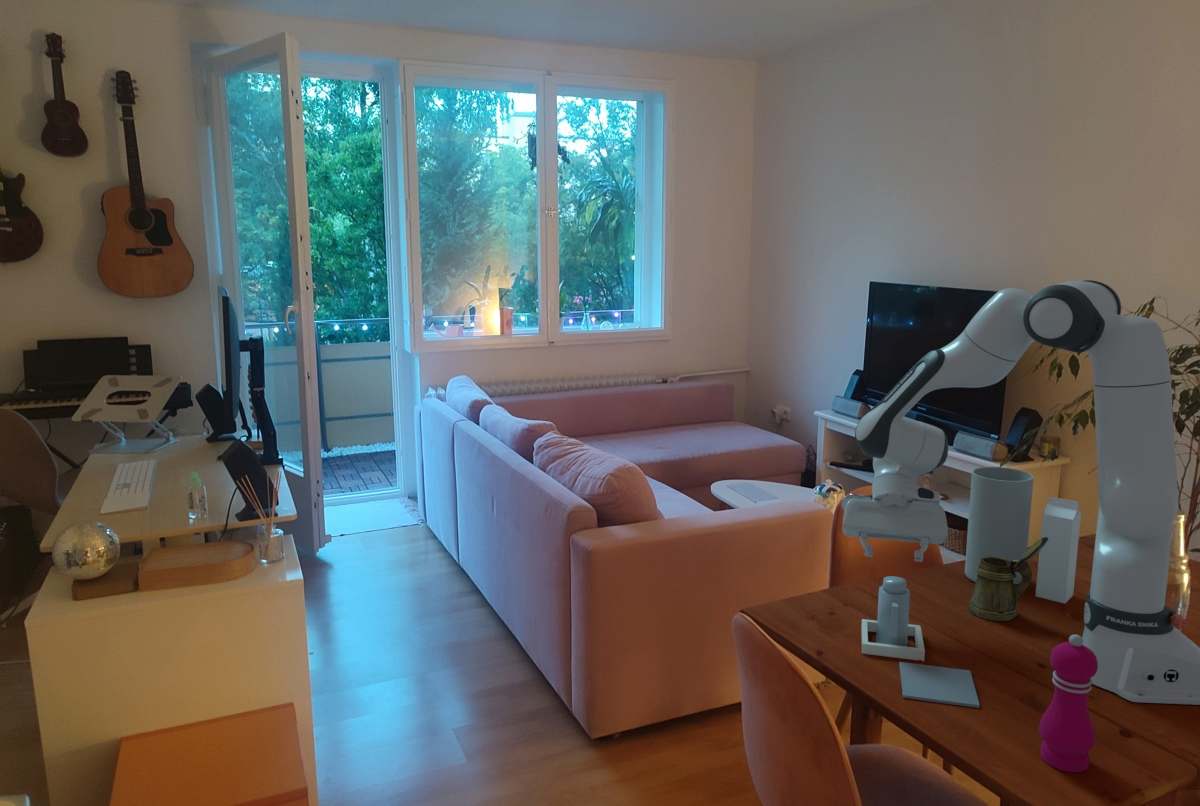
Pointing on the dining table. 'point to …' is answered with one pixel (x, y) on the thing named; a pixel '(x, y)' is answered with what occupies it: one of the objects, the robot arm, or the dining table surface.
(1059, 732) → the pepper mill
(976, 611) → the wooden mug
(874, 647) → the holder
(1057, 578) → the milk
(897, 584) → the blue capped bottle
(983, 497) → the cylinder vase
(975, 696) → the mat
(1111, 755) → the dining table surface
